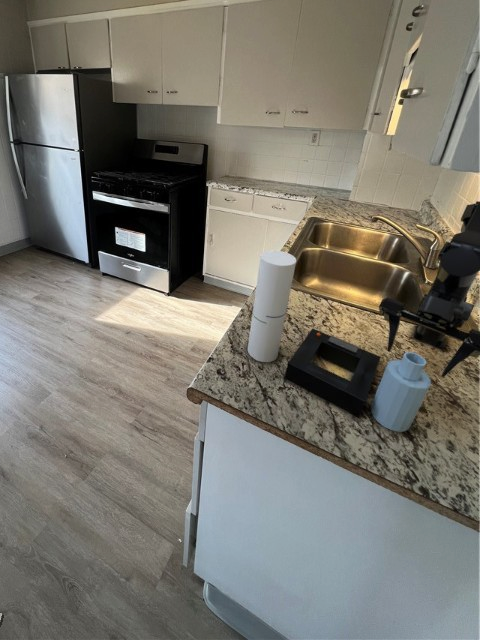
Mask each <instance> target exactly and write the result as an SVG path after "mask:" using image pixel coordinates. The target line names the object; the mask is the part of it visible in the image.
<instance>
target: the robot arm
mask: <svg viewBox="0 0 480 640" xmlns="http://www.w3.org/2000/svg"><path fill="white" fill-rule="evenodd" d="M461 222H462V225H461V228H460V232H458V233H454V234H453V236H452V238H451V240H450V241H446V242H444V245H443V246H442V248H441V249H440V251H439V253H438V255H437V260H439V263H438V267H437V271H436V276H435V278H434V280H433V282H432V284H431V286H430V288H429V290H428V292H427V293H424V295H423V297H422V298H421V301H420V303H419V306H418V309H417V312H415V311H411V310H409V309H406V308H405V307H406V303H404V302H402V301H399V300H396V299H393V298H391V297H388V296H386V297H384V298H382V299H381V302H380V303H379V305H378V313H379V315H381V316H382V317H383V319H384V321H386V322H388V328H389V331H388V341H387V342H388V343H387V351H388V353H389V352H391V351H392V348H393V346H394V343H395V340H396V338H397V334H398V331H399V328H400V325H401V319H403V320H407V321H409V322H411V323H414V324H417V325H415V328H414V332H413V337H412V339H414V340H417V341H419V342H422V343H425V344H427V345H429V346H433V347H436V348H438V349H442V350H444V349H445V348H446V347H445V346H446V336H447V337H449V338H452V339H455V340H457V341H459V342H462V343H461V344H460V346H459V347H458V349H457V350H456V351H455V353H454V354H453V356H452V357H451V359H450V360H449V362H448V363H447V365H446V366H445V368H444V369H443V371H442V373H441V377H442V378H445V377H446V375H448V374H449V373H450V372H451V371H452V370H453V369H455V367H457V366H458V364H460V363H462V362H463V361H464V360H466V359H467V358H469V357H471V358H474V359H477V358H478V357H480V330H477V329H474V328H471V329H470V330H469V332H466V331H464V330H461V328H462V327H463V326H464V323H465V322H467V321H469V318H470V316H471V315H472V311H473V310H474V307H475V304H472V303H470V302H467V301H468V300H467V299H468V293H469V291H470V289H471V286H472V285H473V282H474V281H475V279H476V278H477V276H478V273H479V272H480V200H479V201H476V202H475V203H470V204H467V205H466V206H465V208H464V210H463V213H462V215H461V217H460V223H461Z"/></svg>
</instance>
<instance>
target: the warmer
mask: <svg viewBox="0 0 480 640" xmlns="http://www.w3.org/2000/svg"><path fill="white" fill-rule="evenodd" d="M318 358H321V359H323V360H325V361H328V362H329V363H332V364H334V365H336V366H338V367H340V368H343V369H345V370H347V371H349V372H351V373H352V377H351V379H350V380H349V379H347V378H345V377H343V376H341V375H339V374H337V373H334V372H332V371H330V370H328V369H326V368H324V367H322V366H320V365H318V364H316V363H315V362H316V361H317V359H318ZM380 361H381V356H380V355H377V354H375V353H373V352H370V351H368V350H365V349H363V348H361V347H359V345H356V344H353V343H351V342H348V341H346V340H345V339H341V338H340V337H336V336H335V335H331V334H330V335H329V334H327V333H325V332H322V331H320V330H317V329H316V328H313V327H312V328H311V330H310V331H309V333H308V334H307V336H306V337H305V338H304V339H303V341H302V342H301V344H300V345H299V347H298V348H297V349H296V351H295V352H294V353H293V355H292V356H291V358H290V359H289V361H288V362H287V365H286V370H285V374H284V379H285V380H287V381H289V382H291V384H294V385H296V386H298V387H300V388H301V389H304V390H305V391H307V392H309V393H311V394H313V395H315V396H317V397H318V398H321V399H322V400H324V401H326V402H328V403H329V404H332V405H333V406H335V407H337V408H339V409H341V410H342V411H344V412H346V413H349V414H350V415H352V416H354V417H357V418H358V419H359V418H360V417H361V415H362V411H363V409H364V406H365V404H366V402H367V399H368V395H369V394H370V393H369V392H370V390H371V386H372V383H373V381H374V378H375V375H376V373H377V369H378V367H379V364H380Z"/></svg>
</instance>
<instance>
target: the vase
mask: <svg viewBox="0 0 480 640" xmlns="http://www.w3.org/2000/svg"><path fill="white" fill-rule="evenodd" d="M426 365H427V361H426V359H425V357H423V356H422V355H420V354H418V353H416V352H412V351H406V352H405V353H404V354H403V356H402V358H401V359H392V360H390V361H388V362H387V365H386V366H385V369H384V372H383V375H382V377H381V380H380V382H379V385H378V387H377V390H376V392H375V395H374V397H373V400H372V403H371V404H370V413H371V414H372V417H373V418H374V419H375V420H376V421H377V422H378V423H379V424H380V425H381V426H383V427H384V428H385V429H388V430H390V431H393V432H396V433H402V432H403V433H404V432H407V431H408V430H409V429H410V428H411V426H412V424H413V422H414V420H415V418H416V417H417V414H418V412H419V409H421V405H422V403H423V402H424V400H425V398H426V396H427V393H428V391H429V389H430V388H431V384H432V379H431V378H430V375H429V374H428V373H427V372H426V371H425V370H424V369H425V368H426Z"/></svg>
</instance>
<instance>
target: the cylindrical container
mask: <svg viewBox="0 0 480 640" xmlns="http://www.w3.org/2000/svg"><path fill="white" fill-rule="evenodd" d="M296 264H297V258H296V257H295V256H294V255H293V254H291V253H288V252H285V251H281V250H265V251H263V252H262V253H260V259H259V264H258V265H259V267H258V273H257V279H256V287H255V294H254V299H253V300H254V301H253V307H252V315H251V322H250V329H249V336H248V344H247V352H248V353H247V354H248V355H249V356H250V357H251V358H252V359H254V360H255V361H258V362H260V363H272V362H274V361H276V360H277V359H278V356H279V352H280V348H281V347H280V346H281V341H282V336H283V331H284V325H285V322H286V317H287V310H288V305H289V301H290V296H291V295H290V294H291V290H292V285H293V280H294V276H295V275H294V274H295V270H296Z"/></svg>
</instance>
